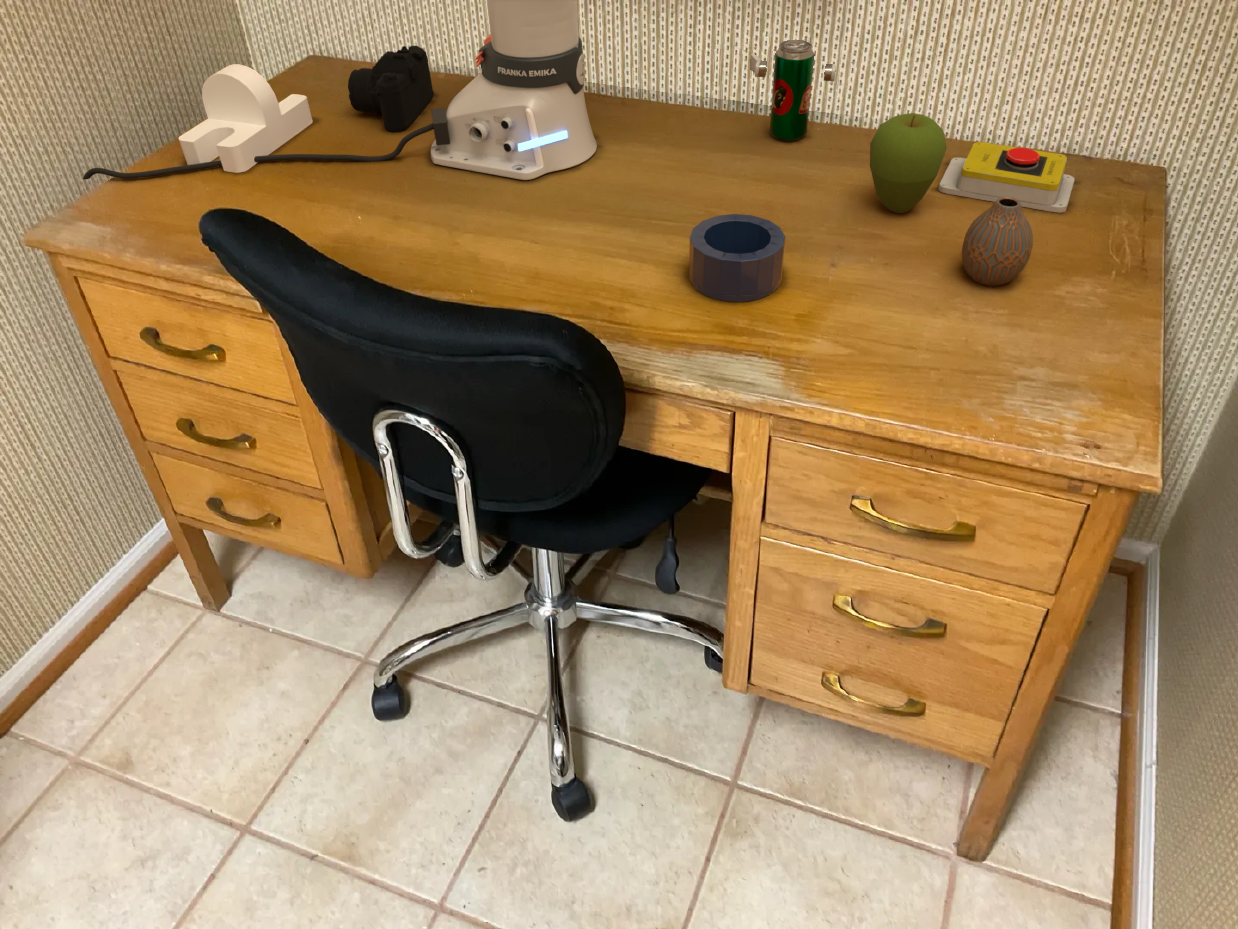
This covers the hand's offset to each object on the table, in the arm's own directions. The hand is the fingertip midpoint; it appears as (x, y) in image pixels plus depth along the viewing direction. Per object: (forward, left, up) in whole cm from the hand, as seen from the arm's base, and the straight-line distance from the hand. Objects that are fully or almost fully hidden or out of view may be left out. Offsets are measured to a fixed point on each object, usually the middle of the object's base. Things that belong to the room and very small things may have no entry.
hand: (794, 73), depth 133 cm
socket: (-2, -43, -6) cm, 44 cm away
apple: (+15, -24, -7) cm, 29 cm away
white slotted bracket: (-74, -19, -7) cm, 77 cm away
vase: (+25, -38, -7) cm, 46 cm away
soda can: (0, -5, -7) cm, 8 cm away
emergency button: (+28, -16, -7) cm, 33 cm away
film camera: (-58, -6, -7) cm, 59 cm away
